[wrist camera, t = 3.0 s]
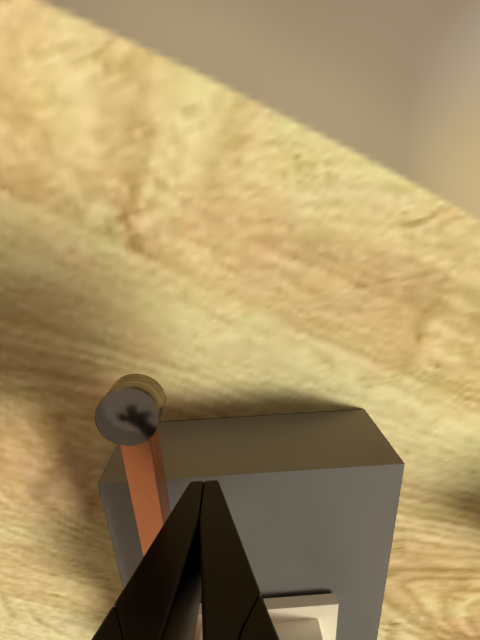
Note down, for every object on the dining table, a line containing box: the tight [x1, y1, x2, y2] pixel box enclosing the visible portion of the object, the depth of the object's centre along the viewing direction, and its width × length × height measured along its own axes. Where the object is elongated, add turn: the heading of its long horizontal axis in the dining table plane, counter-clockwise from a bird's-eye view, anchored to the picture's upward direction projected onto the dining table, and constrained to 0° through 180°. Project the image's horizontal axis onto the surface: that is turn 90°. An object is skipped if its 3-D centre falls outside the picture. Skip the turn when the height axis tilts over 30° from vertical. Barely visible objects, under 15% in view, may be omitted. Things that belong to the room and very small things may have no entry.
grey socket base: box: [98, 409, 404, 640], centre depth 14 cm, size 22×10×4 cm, turn 3°
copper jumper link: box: [95, 374, 171, 557], centre depth 10 cm, size 19×2×1 cm, turn 3°
